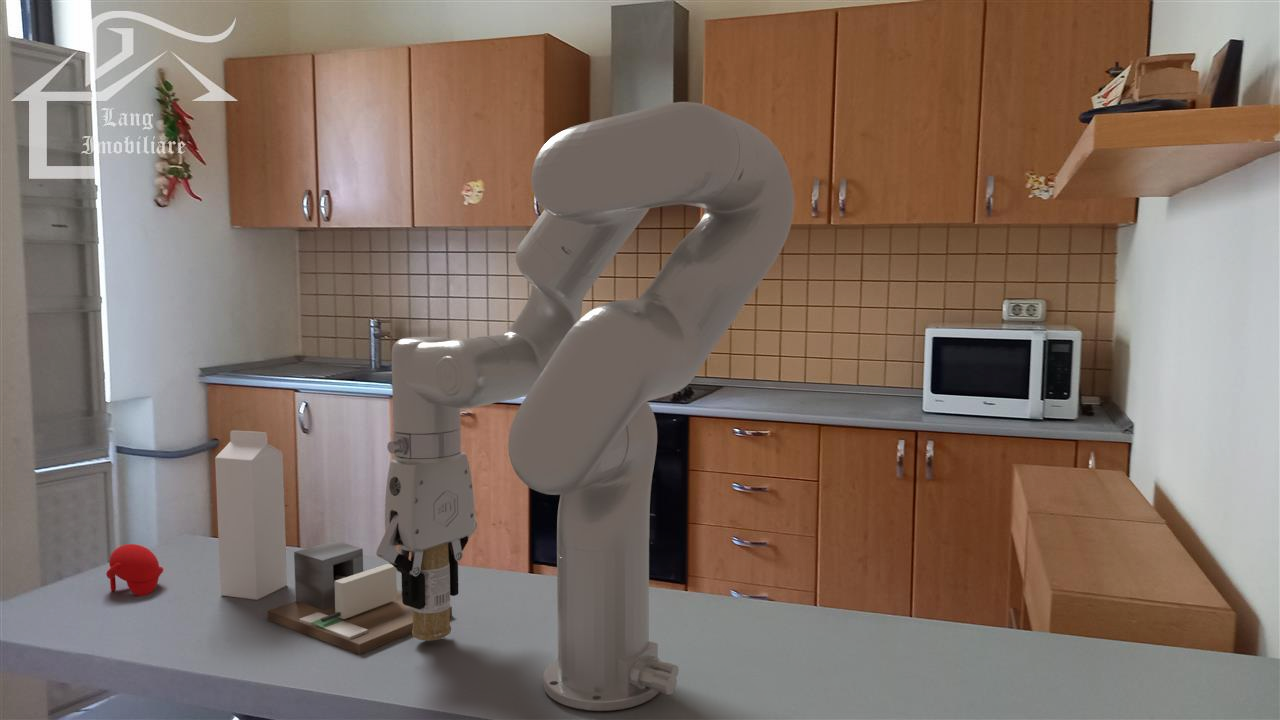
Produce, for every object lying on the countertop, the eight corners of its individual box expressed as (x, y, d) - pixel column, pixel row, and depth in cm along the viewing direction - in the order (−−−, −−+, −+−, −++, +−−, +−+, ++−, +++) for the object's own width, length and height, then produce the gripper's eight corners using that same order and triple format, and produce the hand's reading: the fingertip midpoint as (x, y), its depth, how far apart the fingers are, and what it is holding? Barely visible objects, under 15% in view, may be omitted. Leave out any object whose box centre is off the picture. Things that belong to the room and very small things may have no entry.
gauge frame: (452, 615, 110) (450, 557, 109) (359, 654, 98) (357, 589, 97) (360, 587, 120) (359, 533, 119) (267, 619, 108) (265, 560, 108)
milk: (252, 581, 122) (246, 426, 121) (288, 585, 121) (282, 428, 119) (219, 596, 117) (213, 433, 115) (257, 600, 115) (251, 435, 113)
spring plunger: (396, 599, 111) (396, 565, 111) (326, 625, 102) (325, 589, 102) (363, 589, 115) (362, 556, 114) (293, 613, 106) (291, 578, 106)
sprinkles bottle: (440, 623, 105) (438, 514, 103) (458, 635, 101) (456, 522, 100) (404, 633, 102) (402, 520, 101) (421, 645, 98) (419, 529, 97)
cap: (91, 566, 119) (98, 552, 115) (134, 542, 123) (142, 528, 119) (126, 613, 119) (133, 601, 115) (167, 587, 123) (176, 575, 119)
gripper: (389, 460, 91) (394, 630, 92) (502, 437, 104) (504, 585, 106) (344, 452, 95) (349, 615, 96) (458, 431, 109) (461, 573, 110)
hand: (430, 598), depth 101 cm, fingers closed on sprinkles bottle, 4 cm apart
